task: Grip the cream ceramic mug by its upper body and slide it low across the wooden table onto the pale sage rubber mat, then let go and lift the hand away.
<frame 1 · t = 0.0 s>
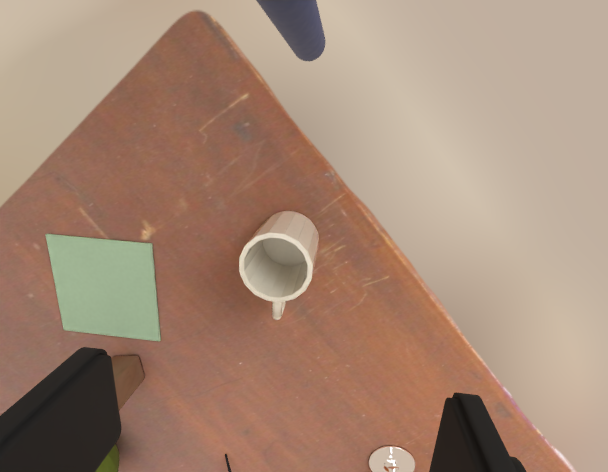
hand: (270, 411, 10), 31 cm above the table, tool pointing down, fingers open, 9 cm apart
wooden block: (130, 365, 49), on the table
mug: (289, 239, 41), on the table
apple: (104, 440, 55), on the table
wineglass: (391, 461, 49), on the table
mat: (106, 288, 46), on the table
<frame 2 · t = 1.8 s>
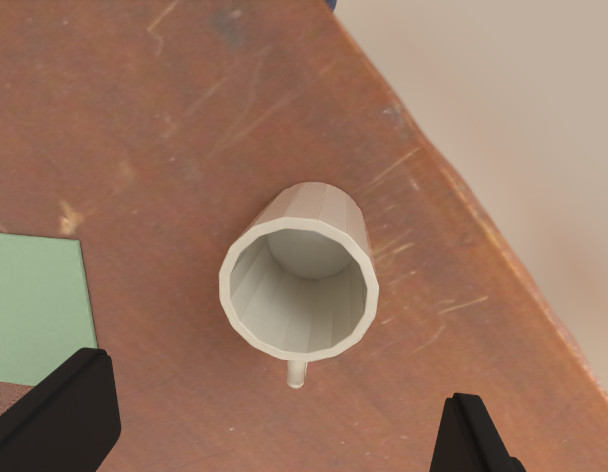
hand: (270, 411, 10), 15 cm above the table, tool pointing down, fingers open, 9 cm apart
mug: (313, 233, 23), on the table
mat: (12, 313, 28), on the table
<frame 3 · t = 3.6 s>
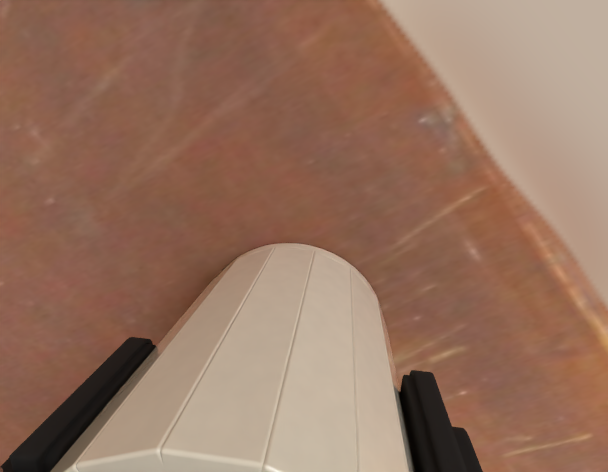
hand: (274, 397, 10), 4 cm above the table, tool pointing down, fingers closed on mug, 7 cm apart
mug: (292, 326, 14), on the table, touching gripper
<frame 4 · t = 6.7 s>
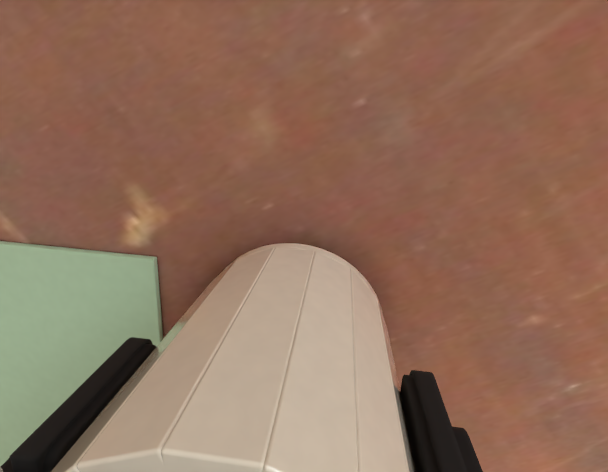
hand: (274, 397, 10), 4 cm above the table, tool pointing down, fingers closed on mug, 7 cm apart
mug: (293, 326, 14), point 1 cm above the table, touching gripper
mat: (30, 376, 17), on the table
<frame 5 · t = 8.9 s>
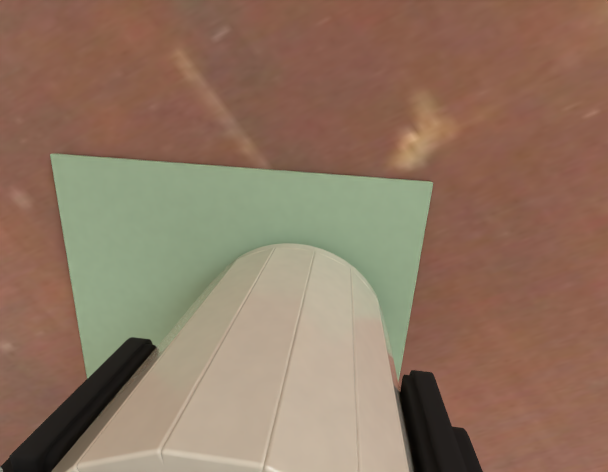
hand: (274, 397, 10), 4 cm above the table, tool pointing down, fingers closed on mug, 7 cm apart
mug: (293, 327, 14), point 1 cm above the table, touching gripper
mat: (235, 332, 15), on the table
when the fingers open (4 cm above the table, at t = 10.1 s): mug stays where it is, resting on mat.
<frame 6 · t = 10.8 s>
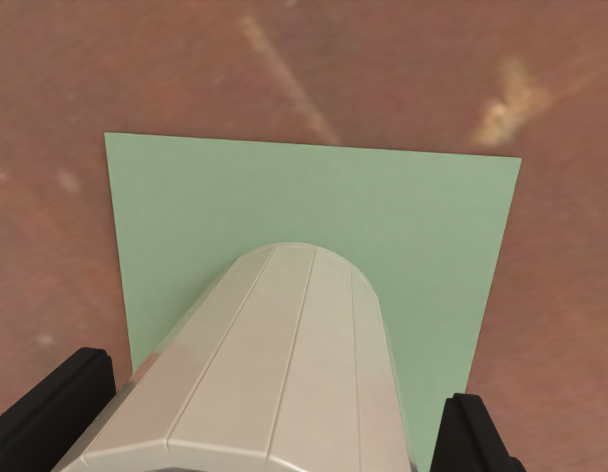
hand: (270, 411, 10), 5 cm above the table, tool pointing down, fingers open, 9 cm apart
mug: (293, 325, 14), resting on mat
mat: (293, 323, 14), on the table
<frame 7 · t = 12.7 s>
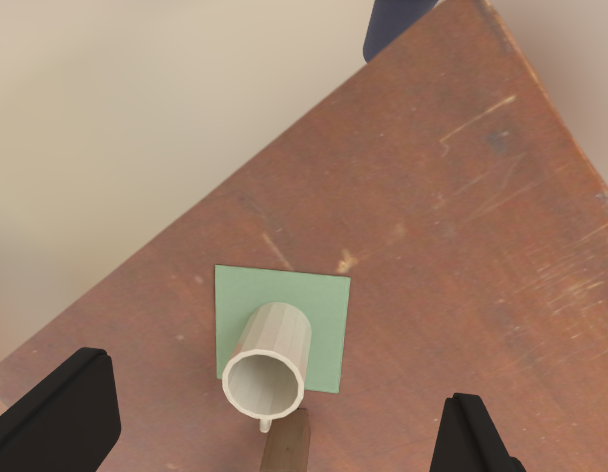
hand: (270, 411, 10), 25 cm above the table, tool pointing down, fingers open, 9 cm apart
wooden block: (292, 420, 41), on the table
mug: (279, 331, 37), resting on mat
mat: (279, 330, 38), on the table
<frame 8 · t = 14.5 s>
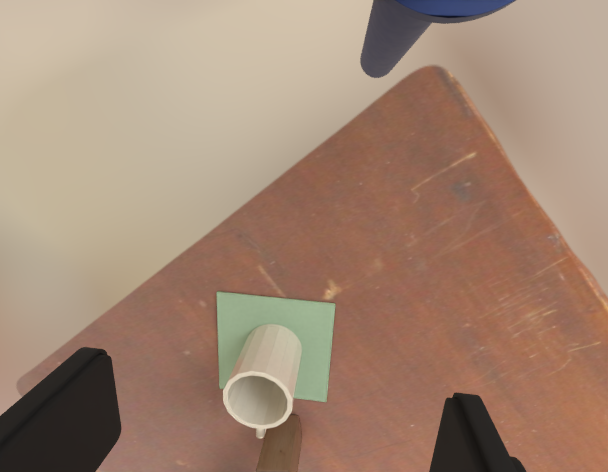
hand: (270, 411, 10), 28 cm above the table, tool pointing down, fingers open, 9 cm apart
wooden block: (286, 424, 47), on the table
mug: (273, 348, 42), resting on mat
mat: (273, 347, 43), on the table
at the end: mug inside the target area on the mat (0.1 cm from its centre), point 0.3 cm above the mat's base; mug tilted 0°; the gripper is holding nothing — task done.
